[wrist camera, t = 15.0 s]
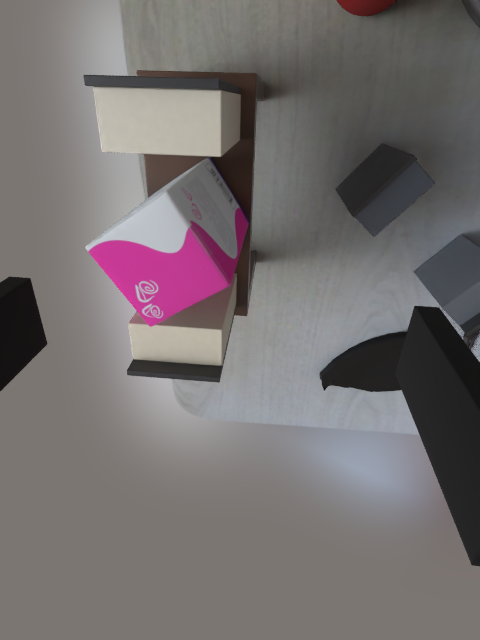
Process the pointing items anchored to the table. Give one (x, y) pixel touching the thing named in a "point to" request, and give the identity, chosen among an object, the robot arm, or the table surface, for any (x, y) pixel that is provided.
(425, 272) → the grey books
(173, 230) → the supplement box
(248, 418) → the table surface
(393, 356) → the dark sector wedge
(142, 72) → the shelf
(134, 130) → the cream books
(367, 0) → the beverage can
